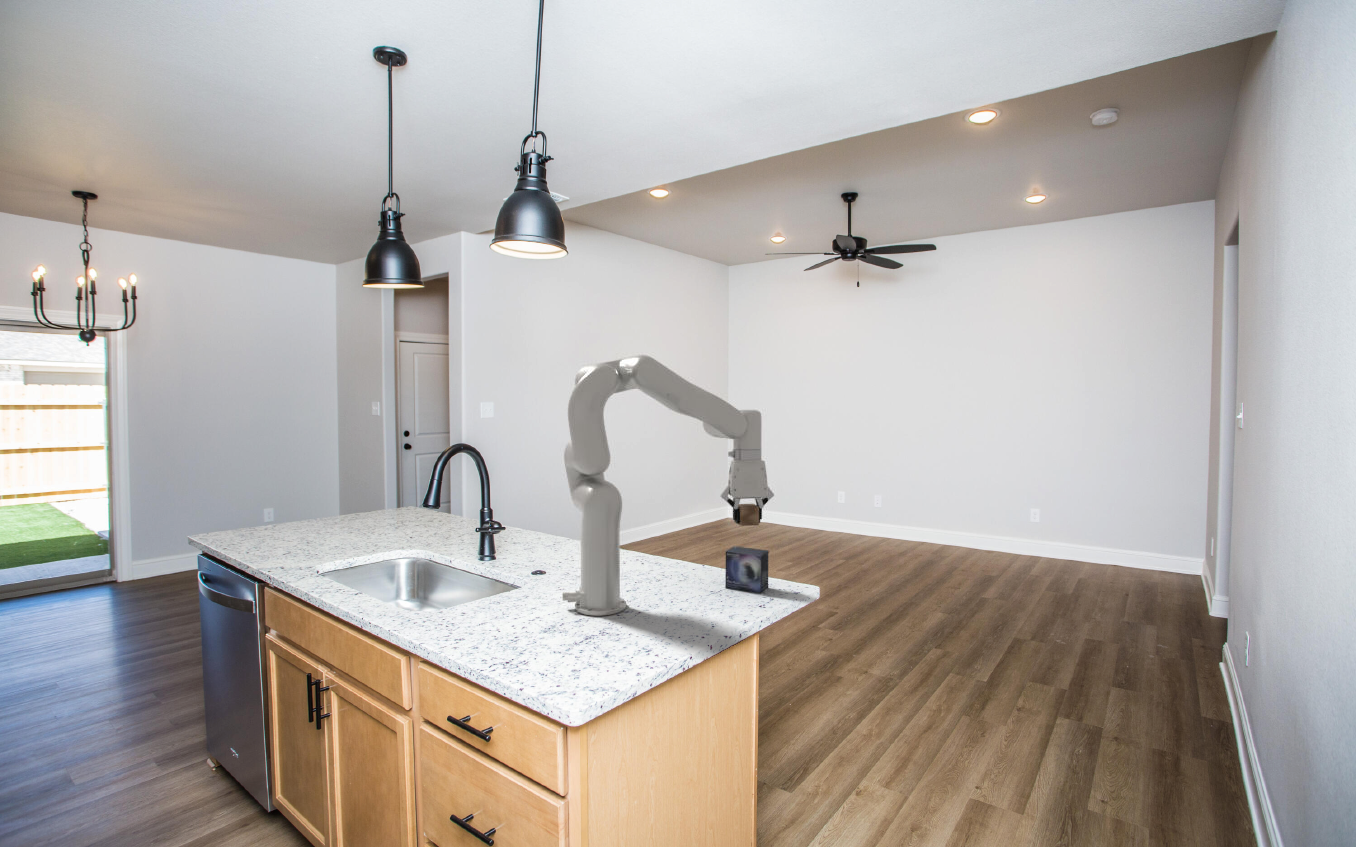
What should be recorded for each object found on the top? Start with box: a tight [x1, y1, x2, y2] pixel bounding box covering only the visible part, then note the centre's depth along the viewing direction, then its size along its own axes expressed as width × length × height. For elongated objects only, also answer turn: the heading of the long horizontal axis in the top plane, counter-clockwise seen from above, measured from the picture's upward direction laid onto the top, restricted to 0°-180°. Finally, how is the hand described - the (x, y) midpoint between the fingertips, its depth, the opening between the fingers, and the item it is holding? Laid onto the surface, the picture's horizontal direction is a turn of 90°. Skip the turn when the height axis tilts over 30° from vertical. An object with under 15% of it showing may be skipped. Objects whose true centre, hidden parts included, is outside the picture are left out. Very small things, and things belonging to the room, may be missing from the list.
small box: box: [724, 545, 770, 595], centre depth 178 cm, size 11×6×10 cm, turn 62°
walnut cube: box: [738, 503, 760, 527], centre depth 177 cm, size 5×5×5 cm
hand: (747, 521), depth 177 cm, fingers closed on walnut cube, 5 cm apart
